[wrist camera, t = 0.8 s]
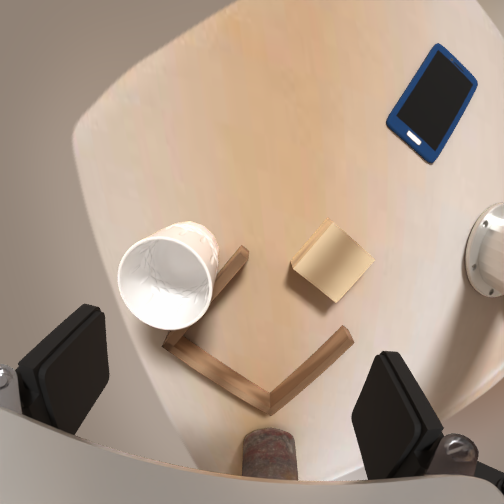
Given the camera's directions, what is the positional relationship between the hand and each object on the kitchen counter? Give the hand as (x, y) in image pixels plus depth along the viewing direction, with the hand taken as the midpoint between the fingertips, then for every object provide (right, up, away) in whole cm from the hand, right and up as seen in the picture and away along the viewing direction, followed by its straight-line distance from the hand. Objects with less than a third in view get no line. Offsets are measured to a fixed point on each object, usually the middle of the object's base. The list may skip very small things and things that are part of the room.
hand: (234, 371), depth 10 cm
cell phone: (+21, +21, +20) cm, 36 cm away
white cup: (-6, +4, +24) cm, 26 cm away
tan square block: (+9, +3, +24) cm, 26 cm away
